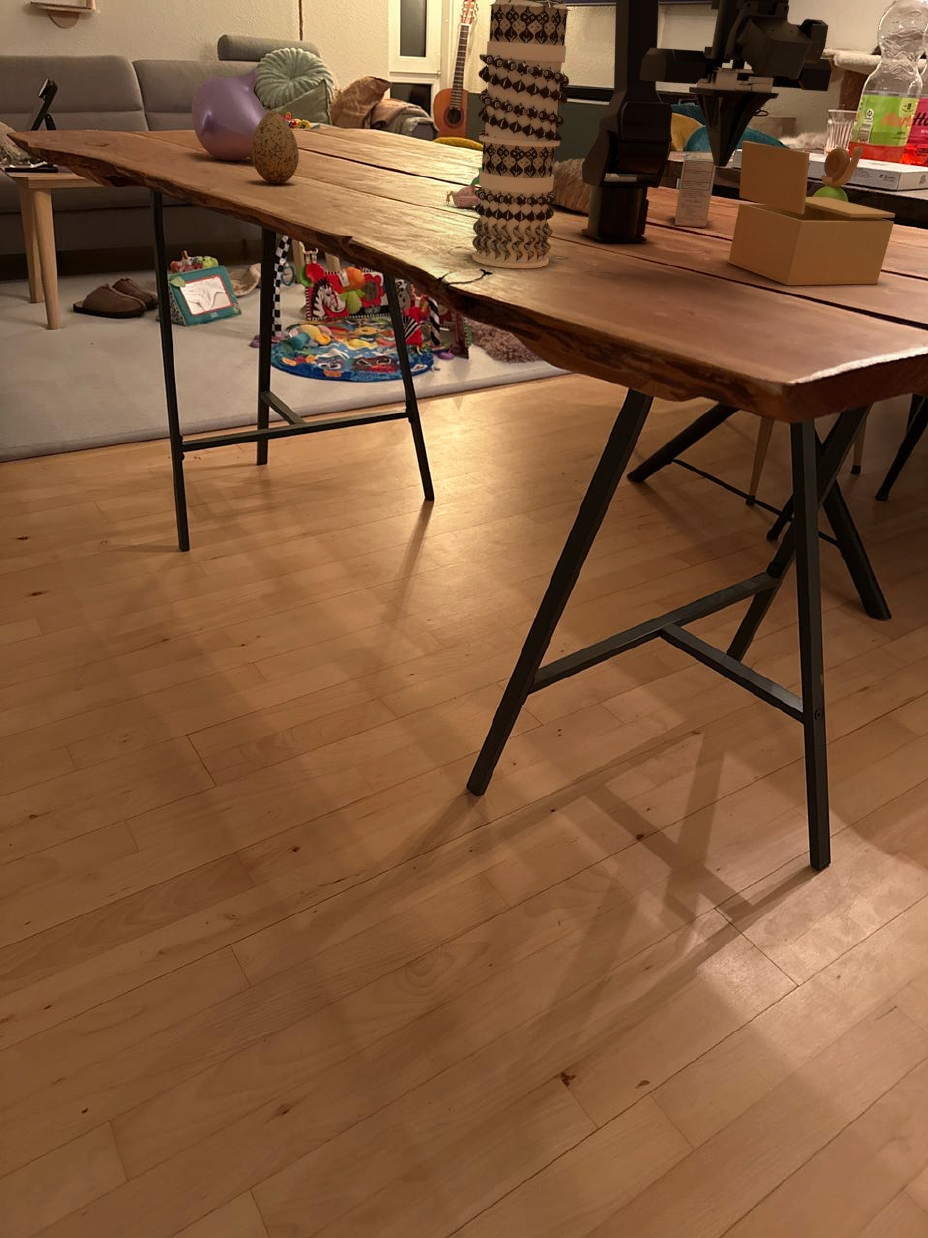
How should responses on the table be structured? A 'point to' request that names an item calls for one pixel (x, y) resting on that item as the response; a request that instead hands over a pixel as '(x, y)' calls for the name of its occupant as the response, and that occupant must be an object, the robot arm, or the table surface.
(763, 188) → the flap
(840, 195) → the snail figurine
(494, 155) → the bracelet display stand
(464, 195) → the pink radish
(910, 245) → the table surface
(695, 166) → the medicine box
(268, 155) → the decorative egg
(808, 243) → the carton
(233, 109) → the toy whale
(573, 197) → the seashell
